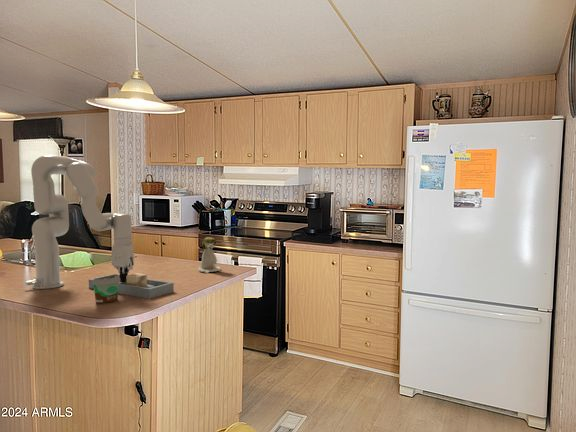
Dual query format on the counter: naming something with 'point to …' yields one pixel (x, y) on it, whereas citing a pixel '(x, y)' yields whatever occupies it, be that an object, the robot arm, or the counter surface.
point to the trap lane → (141, 288)
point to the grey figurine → (209, 256)
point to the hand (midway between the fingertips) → (123, 281)
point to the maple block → (137, 280)
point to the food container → (106, 289)
